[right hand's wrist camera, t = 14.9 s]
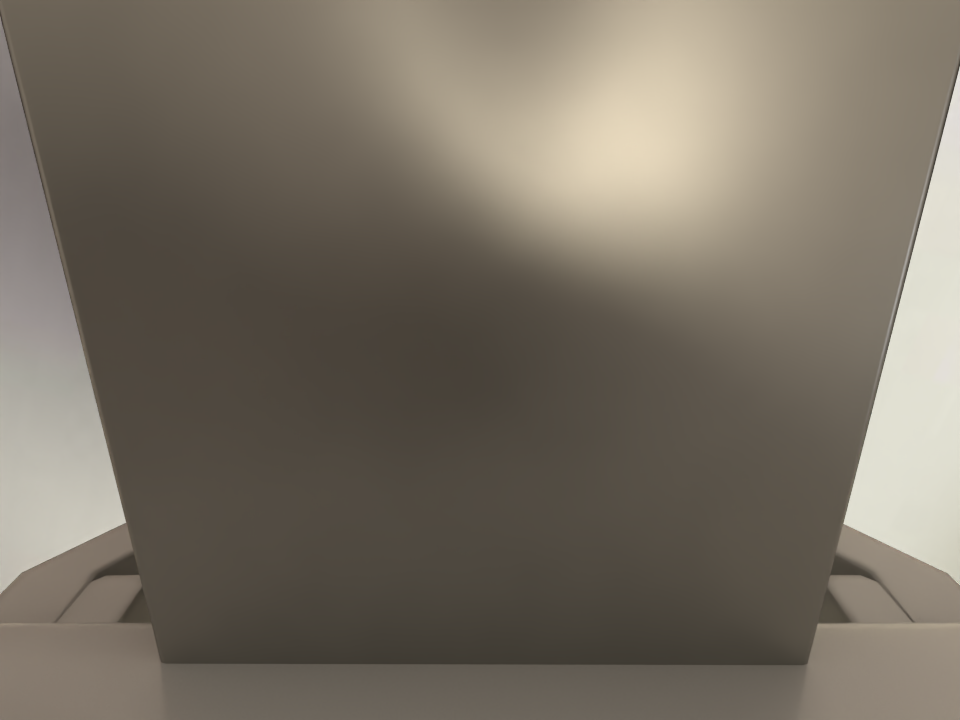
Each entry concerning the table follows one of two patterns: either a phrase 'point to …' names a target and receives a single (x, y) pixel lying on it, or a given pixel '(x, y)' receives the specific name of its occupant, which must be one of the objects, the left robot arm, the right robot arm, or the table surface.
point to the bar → (485, 309)
